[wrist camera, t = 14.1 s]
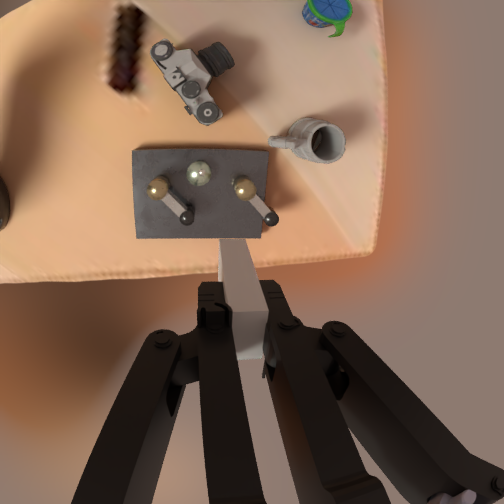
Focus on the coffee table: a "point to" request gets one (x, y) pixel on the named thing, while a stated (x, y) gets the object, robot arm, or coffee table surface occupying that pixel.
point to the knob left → (170, 199)
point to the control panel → (198, 191)
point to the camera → (193, 75)
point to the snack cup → (328, 13)
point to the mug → (302, 136)
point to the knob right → (254, 199)
